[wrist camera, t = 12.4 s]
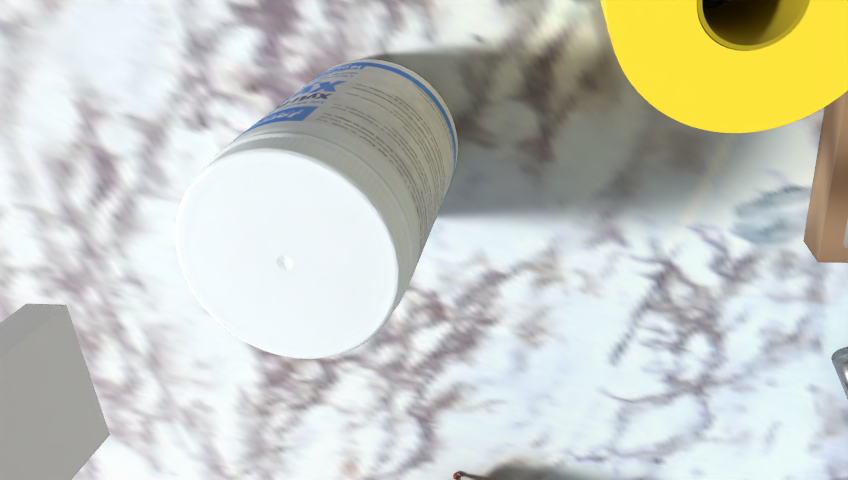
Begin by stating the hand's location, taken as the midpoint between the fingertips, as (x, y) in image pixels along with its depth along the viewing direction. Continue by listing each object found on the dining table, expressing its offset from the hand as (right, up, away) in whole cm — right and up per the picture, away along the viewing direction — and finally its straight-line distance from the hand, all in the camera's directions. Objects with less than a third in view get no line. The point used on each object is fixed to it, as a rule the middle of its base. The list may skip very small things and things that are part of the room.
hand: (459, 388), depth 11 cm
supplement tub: (-3, +8, +29) cm, 31 cm away
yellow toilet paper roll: (+13, +15, +23) cm, 30 cm away
